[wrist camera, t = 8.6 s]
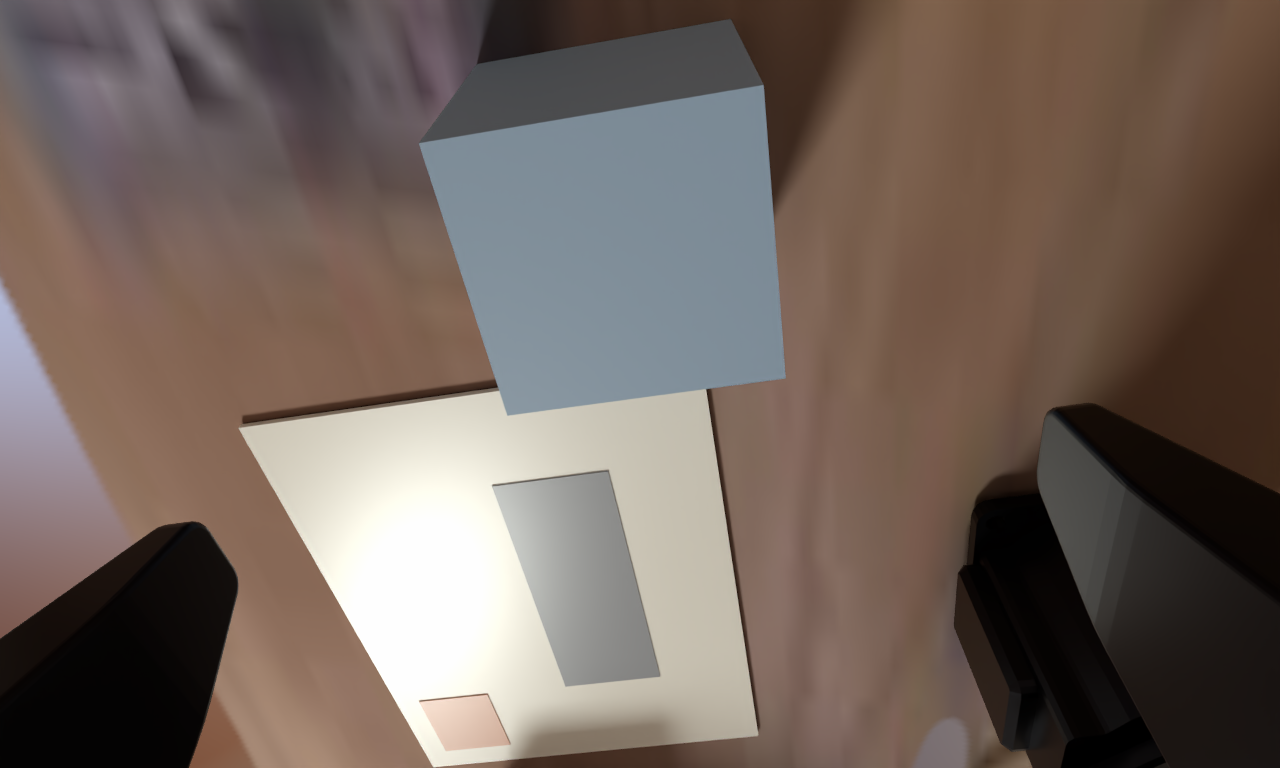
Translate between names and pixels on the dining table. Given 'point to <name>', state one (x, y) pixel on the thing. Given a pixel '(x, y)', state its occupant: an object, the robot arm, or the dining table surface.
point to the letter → (527, 567)
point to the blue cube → (614, 218)
